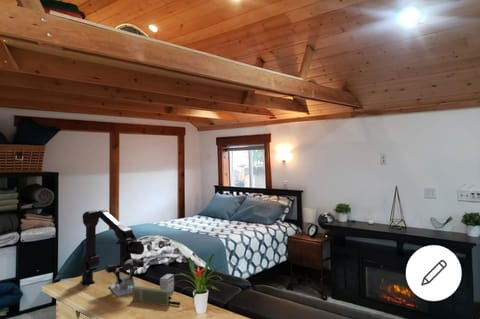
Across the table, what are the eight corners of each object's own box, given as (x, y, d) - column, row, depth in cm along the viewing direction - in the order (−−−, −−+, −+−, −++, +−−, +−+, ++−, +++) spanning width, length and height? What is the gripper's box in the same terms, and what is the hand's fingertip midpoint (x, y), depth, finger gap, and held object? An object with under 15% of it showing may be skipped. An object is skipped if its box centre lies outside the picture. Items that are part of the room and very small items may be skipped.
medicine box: (168, 296, 173) (168, 278, 173) (159, 295, 174) (159, 278, 174) (174, 290, 181) (174, 274, 181) (166, 290, 182) (166, 273, 182)
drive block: (116, 283, 185) (116, 276, 185) (125, 281, 188) (125, 274, 188) (124, 287, 178) (124, 280, 178) (133, 285, 182) (133, 278, 182)
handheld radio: (135, 298, 171) (181, 305, 163) (131, 301, 167) (178, 308, 160) (135, 285, 170) (181, 290, 163) (131, 287, 167) (178, 293, 160)
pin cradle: (109, 287, 186) (109, 280, 186) (131, 282, 193) (131, 276, 193) (117, 296, 173) (117, 289, 173) (141, 291, 180) (141, 284, 180)
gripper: (110, 258, 172) (110, 290, 171) (147, 253, 182) (147, 283, 182) (105, 254, 181) (104, 284, 180) (140, 249, 191) (140, 277, 191)
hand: (124, 282), depth 183 cm, fingers closed on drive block, 5 cm apart
